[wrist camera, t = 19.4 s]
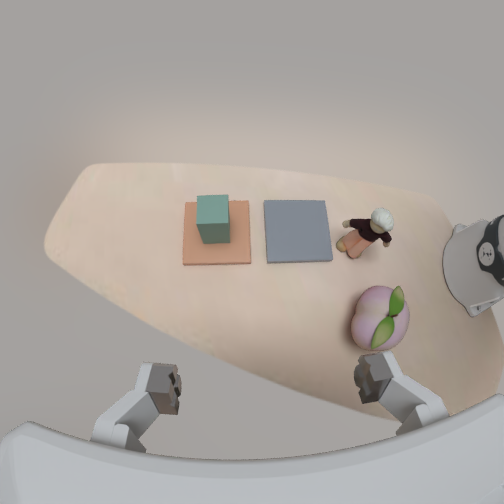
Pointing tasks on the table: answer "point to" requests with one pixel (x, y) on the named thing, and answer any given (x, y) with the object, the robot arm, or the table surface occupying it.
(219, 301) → the table surface
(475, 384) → the table surface
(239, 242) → the terracotta tile
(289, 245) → the slate tile
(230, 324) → the table surface
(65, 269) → the table surface
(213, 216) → the green wooden block
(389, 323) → the decorative fruit
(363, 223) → the grandmother figurine
